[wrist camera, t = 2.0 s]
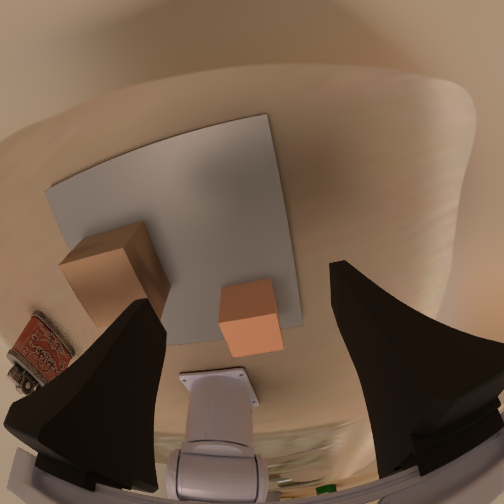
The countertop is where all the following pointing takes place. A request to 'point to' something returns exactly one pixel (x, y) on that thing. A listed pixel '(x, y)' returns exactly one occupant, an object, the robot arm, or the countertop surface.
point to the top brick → (250, 318)
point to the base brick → (116, 273)
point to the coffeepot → (273, 496)
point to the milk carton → (326, 489)
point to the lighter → (38, 355)
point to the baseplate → (194, 218)
